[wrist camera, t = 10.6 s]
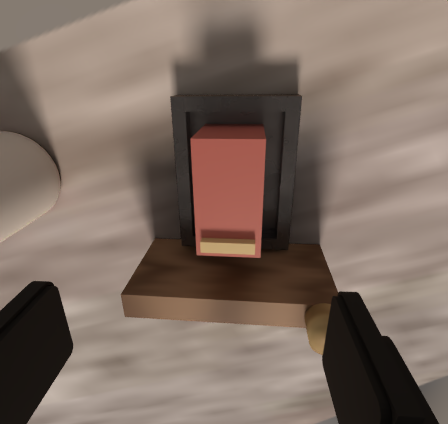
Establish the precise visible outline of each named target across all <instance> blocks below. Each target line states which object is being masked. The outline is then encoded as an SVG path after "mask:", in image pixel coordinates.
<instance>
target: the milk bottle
mask: <svg viewBox="0 0 448 424" xmlns="http://www.w3.org/2000/svg"><path fill="white" fill-rule="evenodd" d="M60 188H61V185H60V176H59V172H58V169H57V167H56V165H55V163H54V161H53V160H52V158H51V156H50V155H49V154H48V153H47V152H46V151H45V149H43V148H42V147H41V146H40V145H39V144H38V143H36V142H35V141H33V140H31V139H30V138H28V137H25V136H23V135H21V134H17V133H14V132H8V131H0V243H1V242H2V241H4V240H5V239H7V238H8V237H10V236H11V235H13V234H15V233H16V232H18V231H19V230H21V229H22V228H24V227H25V226H27V225H28V224H30V223H31V222H33V221H34V220H36V219H37V218H39V217H40V216H42V215H43V214H45V213H46V212H47V211H49V210H50V209H51V208H52V207H53V206H54V205H55V203H56V201H57V199H58V197H59V193H60Z"/></svg>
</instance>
